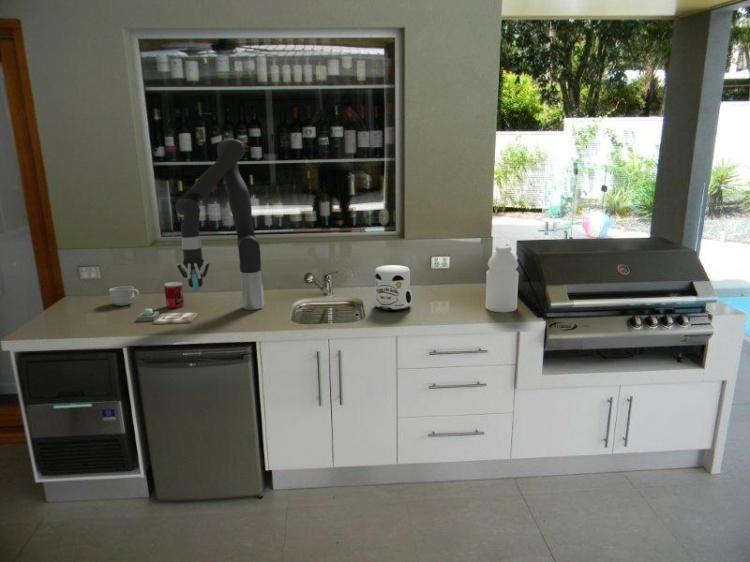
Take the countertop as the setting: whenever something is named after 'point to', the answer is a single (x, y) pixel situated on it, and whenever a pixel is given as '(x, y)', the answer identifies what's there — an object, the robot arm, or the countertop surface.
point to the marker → (195, 280)
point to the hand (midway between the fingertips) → (196, 286)
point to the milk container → (392, 287)
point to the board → (175, 318)
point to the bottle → (502, 281)
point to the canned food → (174, 295)
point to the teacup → (123, 295)
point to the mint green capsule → (148, 312)
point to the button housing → (148, 317)
